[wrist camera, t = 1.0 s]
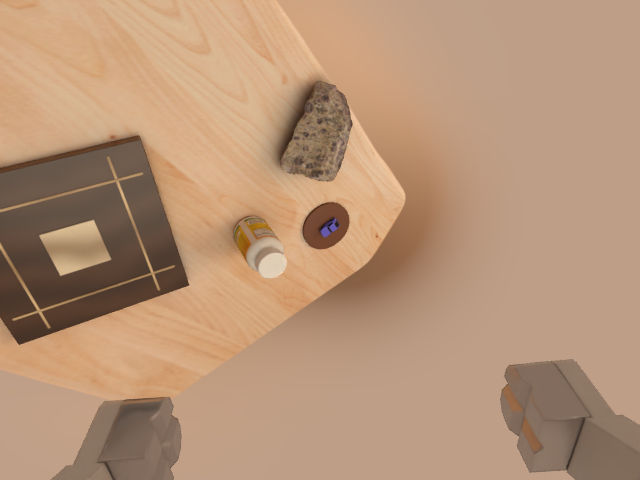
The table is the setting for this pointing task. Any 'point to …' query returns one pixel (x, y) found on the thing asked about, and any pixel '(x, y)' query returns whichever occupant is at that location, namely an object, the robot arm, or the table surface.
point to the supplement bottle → (260, 247)
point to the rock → (319, 135)
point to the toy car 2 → (326, 225)
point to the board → (82, 238)
